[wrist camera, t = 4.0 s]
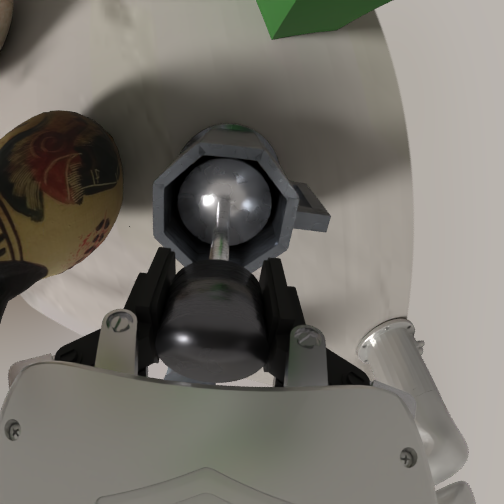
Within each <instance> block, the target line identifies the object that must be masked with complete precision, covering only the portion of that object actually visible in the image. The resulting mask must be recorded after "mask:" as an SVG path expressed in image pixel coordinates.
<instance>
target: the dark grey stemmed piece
mask: <svg viewBox="0 0 504 504" xmlns="http://www.w3.org/2000/svg"><path fill="white" fill-rule="evenodd" d="M271 205H272V204H271V194H270V191H269V187H268V185H267V183H266V180H265V179H264V177H263V176H262V174H261V173H260V172H259V171H258V170H257V169H256V168H255V167H254V166H252V165H251V164H249V163H247V162H245V161H243V160H240V159H237V158H230V157H218V158H213V159H210V160H207V161H205V162H203V163H201V164H199V165H198V166H196V167H195V168H194V169H193V170H192V171H191V172H190V173H189V174H188V176H187V177H186V179H185V180H184V182H183V184H182V186H181V188H180V191H179V196H178V209H179V213H180V217H181V219H182V221H183V223H184V225H185V226H186V227H187V229H188V230H189V231H190V232H191V233H192V234H193V235H194V236H196V237H197V238H199V239H200V240H202V241H204V242H207V243H209V244H211V250H210V257H209V259H206V260H200V261H197V262H193V263H191V264H189V265H187V266H185V267H184V268H182V269H181V270H180V271H179V272H178V273H177V274H176V275H175V277H174V278H173V280H172V283H171V285H170V289H169V292H168V296H167V299H166V303H165V306H164V310H163V314H162V317H161V321H160V325H159V329H158V332H157V336H156V342H155V346H156V351H157V354H158V356H159V357H160V359H161V360H162V361H163V362H164V363H165V365H167V366H168V367H169V368H170V369H172V370H173V371H175V372H176V373H178V374H180V375H182V376H185V377H187V378H190V379H194V380H197V381H203V382H212V383H223V382H232V381H237V380H240V379H243V378H246V377H248V376H250V375H252V374H254V373H256V372H257V371H258V370H260V369H261V368H262V367H263V366H264V364H265V363H266V361H267V359H268V357H269V343H268V335H267V327H266V319H265V311H264V303H263V295H262V290H261V286H260V284H259V282H258V280H257V279H256V278H255V276H254V275H253V274H252V273H251V272H250V271H248V270H247V269H245V268H244V267H242V266H240V265H238V264H236V263H233V262H230V261H228V260H229V246H232V245H237V244H240V243H243V242H246V241H248V240H249V239H251V238H253V237H254V236H255V235H257V234H258V233H259V232H260V231H261V230H262V228H263V227H264V226H265V224H266V222H267V220H268V218H269V216H270V212H271Z"/></svg>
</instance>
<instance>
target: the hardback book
mask: <svg viewBox="0 0 504 504" xmlns="http://www.w3.org/2000/svg"><path fill="white" fill-rule="evenodd" d="M390 1H392V0H256V2H257V4H258V6H259V9H260V11H261V14H262V16H263V19H264V21H265V24H266V26H267V29H268V31H269V34H270V37H271V39H272V40H273V39H278V38H283V37H289V36H294V35H301V34H308V33H315V32H324V31H334V30H338V29H340V28H341V27H343V26H345V25H346V24H348V23H350V22H352V21H353V20H355V19H357V18H359V17H361V16H362V15H364V14H366V13H368V12H370V11H372V10H374V9H376V8H378V7H380V6H382V5H384V4H386V3H388V2H390Z"/></svg>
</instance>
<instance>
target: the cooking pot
mask: <svg viewBox="0 0 504 504" xmlns="http://www.w3.org/2000/svg"><path fill="white" fill-rule="evenodd" d="M12 15H13V0H0V51H1V49H2V46H3V44H4V42H5V39H6V36H7V34H8V31H9V27H10V24H11V20H12Z"/></svg>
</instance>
